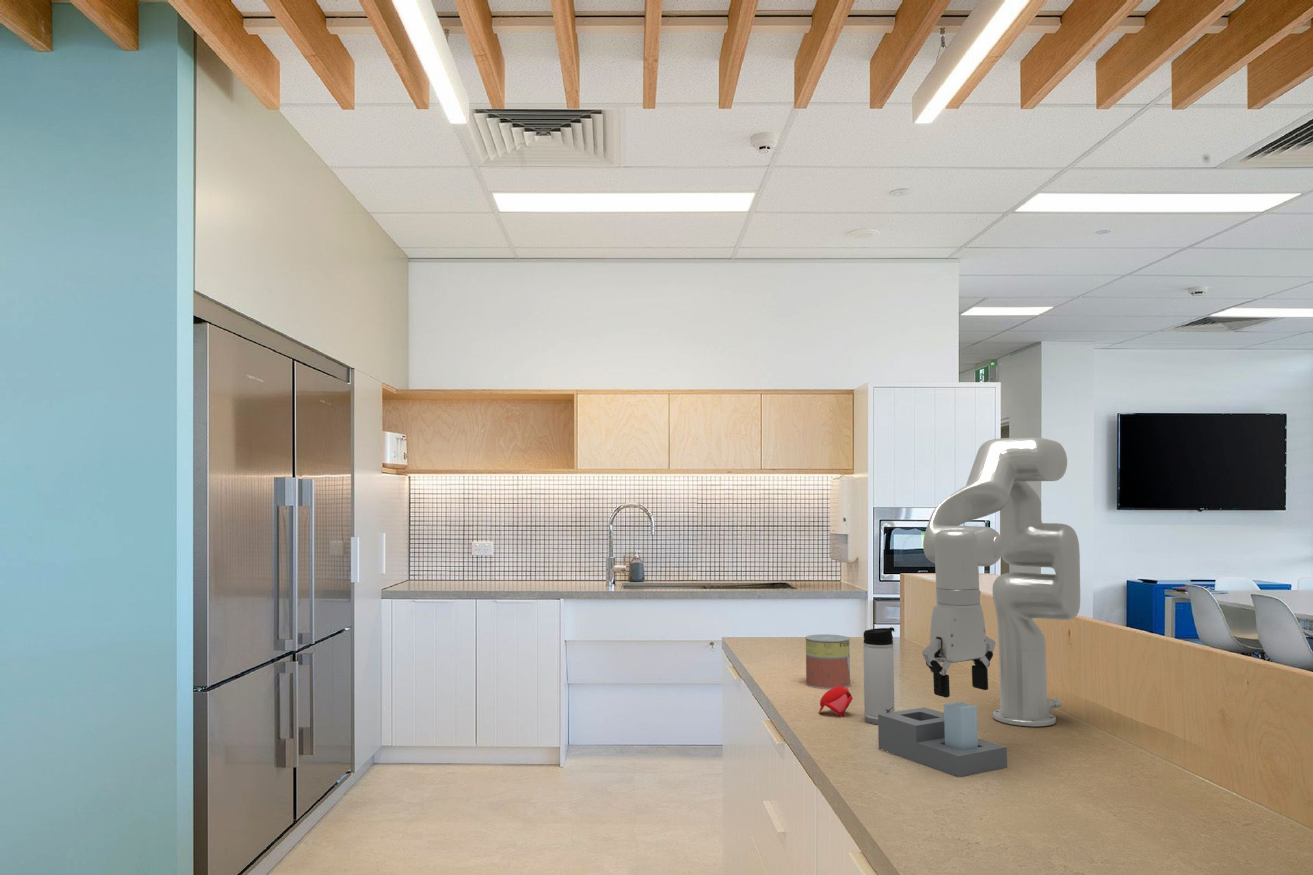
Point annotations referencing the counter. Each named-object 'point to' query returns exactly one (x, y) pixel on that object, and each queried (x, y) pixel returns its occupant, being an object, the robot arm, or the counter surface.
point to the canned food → (827, 661)
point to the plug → (960, 725)
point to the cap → (836, 700)
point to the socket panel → (935, 743)
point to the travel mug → (878, 673)
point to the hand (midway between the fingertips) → (961, 692)
